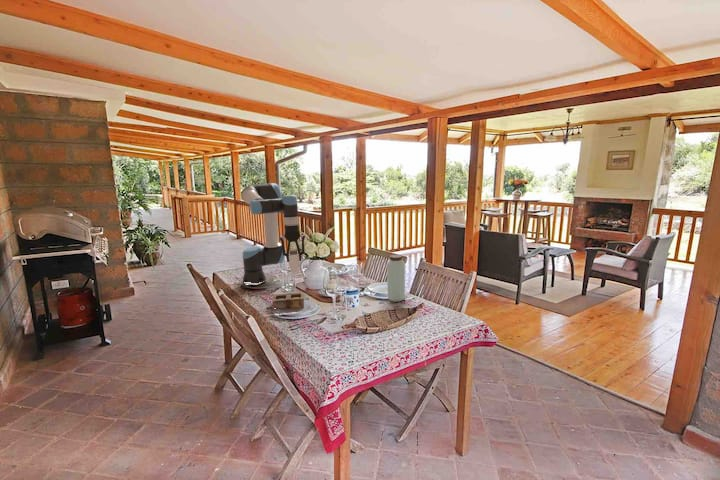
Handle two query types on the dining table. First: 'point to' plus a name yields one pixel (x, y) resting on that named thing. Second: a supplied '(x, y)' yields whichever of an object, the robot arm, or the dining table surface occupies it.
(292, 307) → the socket block
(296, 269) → the plug
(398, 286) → the water bottle
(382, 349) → the dining table surface
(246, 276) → the robot arm
